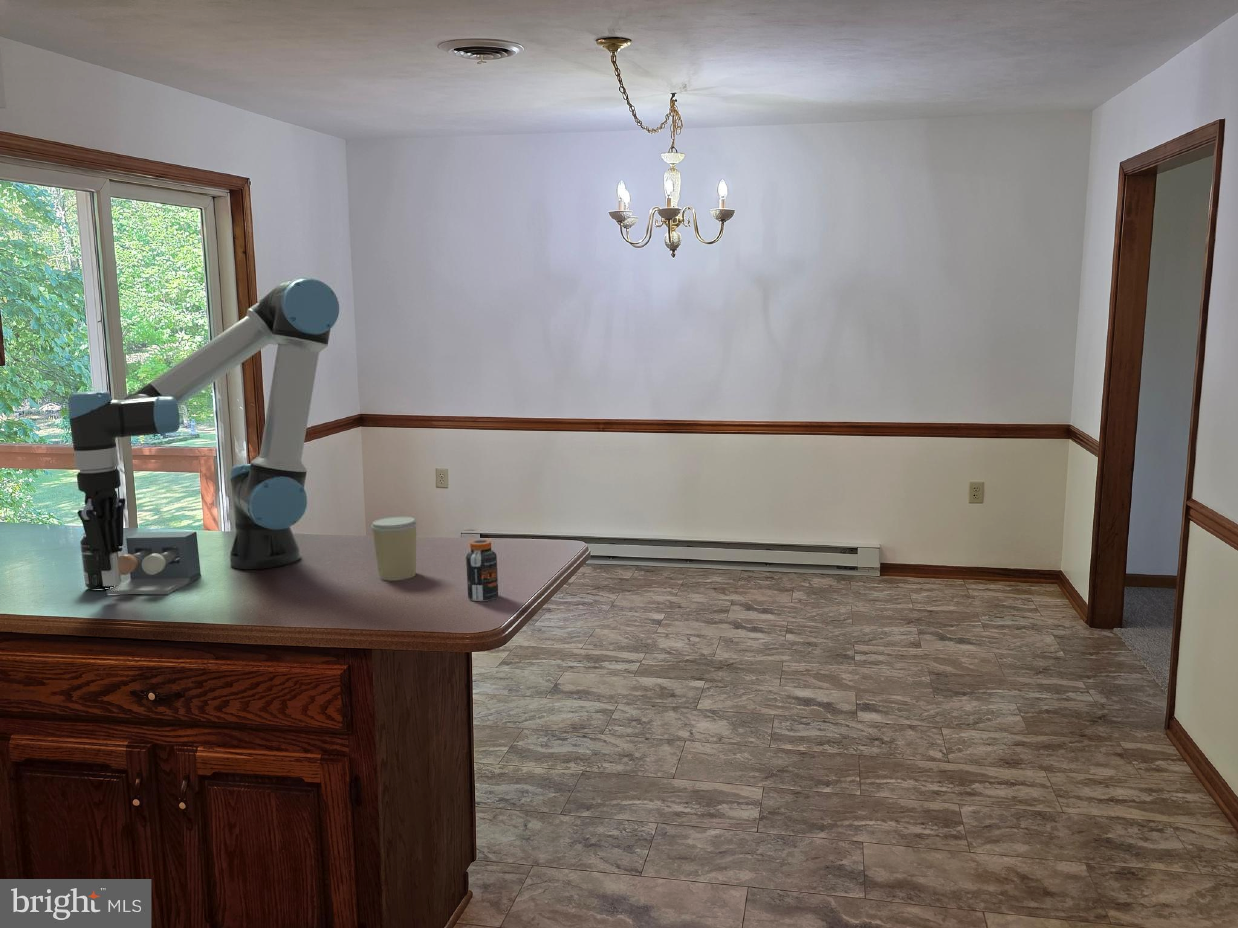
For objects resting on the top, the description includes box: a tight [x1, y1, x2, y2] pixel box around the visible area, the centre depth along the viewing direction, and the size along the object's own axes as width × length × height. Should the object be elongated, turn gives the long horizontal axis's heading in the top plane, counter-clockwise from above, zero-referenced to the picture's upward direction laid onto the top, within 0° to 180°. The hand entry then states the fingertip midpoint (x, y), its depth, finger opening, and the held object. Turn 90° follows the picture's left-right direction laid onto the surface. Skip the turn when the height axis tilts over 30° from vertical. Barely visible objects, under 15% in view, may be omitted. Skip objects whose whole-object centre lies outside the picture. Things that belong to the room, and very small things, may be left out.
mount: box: [106, 531, 202, 595], centre depth 208 cm, size 13×14×10 cm
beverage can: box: [79, 532, 122, 590], centre depth 208 cm, size 7×7×12 cm
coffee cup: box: [371, 516, 417, 582], centre depth 209 cm, size 9×9×12 cm
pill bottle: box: [465, 539, 499, 602], centre depth 191 cm, size 6×6×11 cm
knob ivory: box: [142, 547, 179, 575], centre depth 208 cm, size 4×13×4 cm, turn 177°
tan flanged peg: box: [117, 548, 152, 576], centre depth 208 cm, size 4×13×4 cm, turn 176°
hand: (111, 584), depth 198 cm, fingers closed
